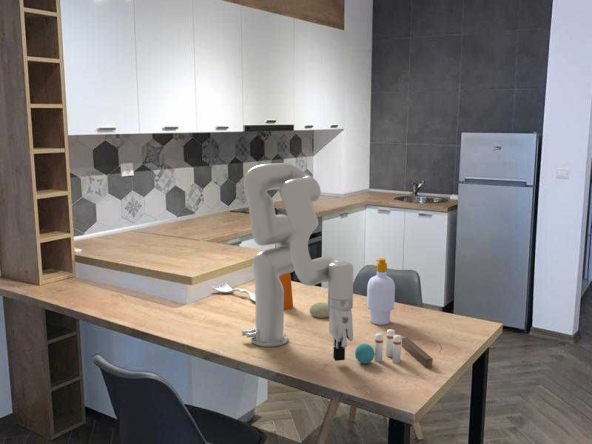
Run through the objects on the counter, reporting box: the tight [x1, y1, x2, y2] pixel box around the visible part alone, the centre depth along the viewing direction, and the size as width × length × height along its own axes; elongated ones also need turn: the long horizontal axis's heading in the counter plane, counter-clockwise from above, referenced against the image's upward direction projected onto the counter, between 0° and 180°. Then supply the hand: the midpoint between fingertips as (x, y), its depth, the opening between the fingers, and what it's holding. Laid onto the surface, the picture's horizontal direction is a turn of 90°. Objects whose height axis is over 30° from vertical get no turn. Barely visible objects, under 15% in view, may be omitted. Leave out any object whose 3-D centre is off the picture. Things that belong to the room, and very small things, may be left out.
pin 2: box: [391, 334, 402, 365], centre depth 185 cm, size 2×2×8 cm
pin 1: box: [385, 329, 396, 358], centre depth 190 cm, size 2×2×8 cm
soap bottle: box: [366, 258, 396, 326], centre depth 219 cm, size 10×10×24 cm
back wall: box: [401, 337, 434, 369], centre depth 190 cm, size 2×18×3 cm, turn 14°
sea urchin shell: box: [309, 302, 330, 319], centre depth 228 cm, size 9×8×8 cm
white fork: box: [212, 282, 256, 303], centre depth 250 cm, size 9×32×4 cm, turn 54°
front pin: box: [373, 332, 384, 363], centre depth 186 cm, size 2×2×8 cm
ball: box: [354, 343, 375, 364], centre depth 184 cm, size 6×6×6 cm
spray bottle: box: [279, 273, 294, 311], centre depth 233 cm, size 7×11×26 cm, turn 159°
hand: (339, 359), depth 183 cm, fingers closed
